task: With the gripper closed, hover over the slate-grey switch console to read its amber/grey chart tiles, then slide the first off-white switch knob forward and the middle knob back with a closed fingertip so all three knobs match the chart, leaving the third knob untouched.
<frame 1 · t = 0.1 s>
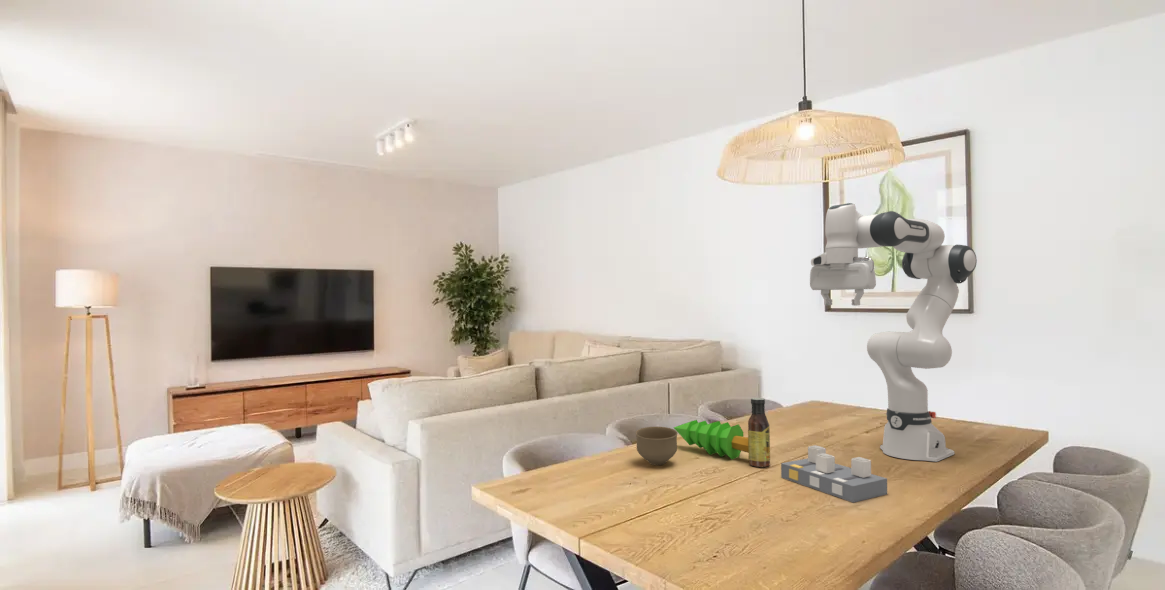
hand: (841, 305, 174), 48 cm above the table, fingers open, 8 cm apart
decorative tree: (713, 454, 191), on the table, touching sauce bottle
knob A: (816, 454, 165), point 6 cm above the table, slide at -2.5 cm
console: (831, 485, 158), on the table
sauce bottle: (759, 465, 177), on the table, touching decorative tree
knob B: (825, 462, 157), point 6 cm above the table, slide at 2.5 cm
bowl: (656, 464, 179), on the table
knob C: (861, 466, 153), point 6 cm above the table, slide at -2.5 cm
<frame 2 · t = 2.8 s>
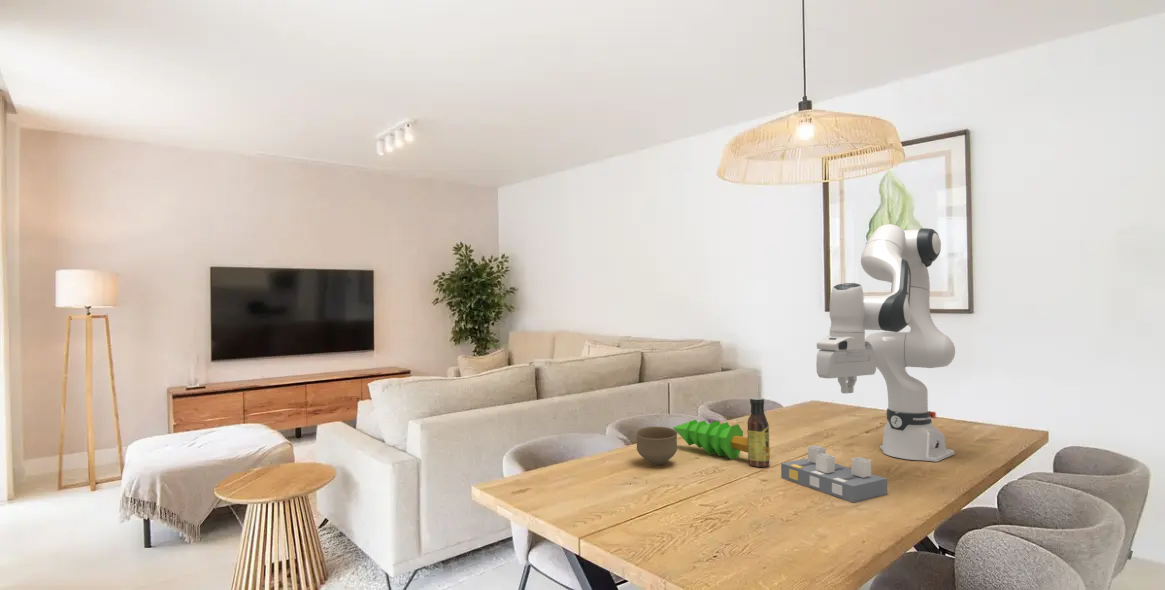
hand: (847, 392, 162), 24 cm above the table, fingers closed
nothing on the table moved.
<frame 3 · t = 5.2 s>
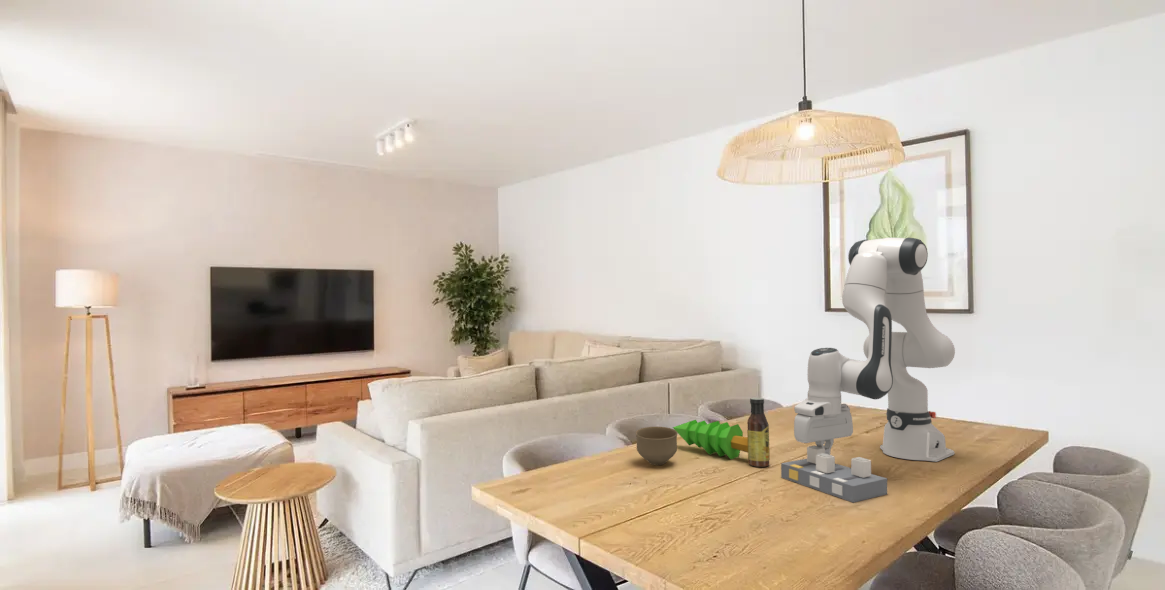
hand: (824, 455, 167), 6 cm above the table, fingers closed
knob A: (815, 454, 165), point 6 cm above the table, slide at -2.1 cm, touching gripper
everything else where it was.
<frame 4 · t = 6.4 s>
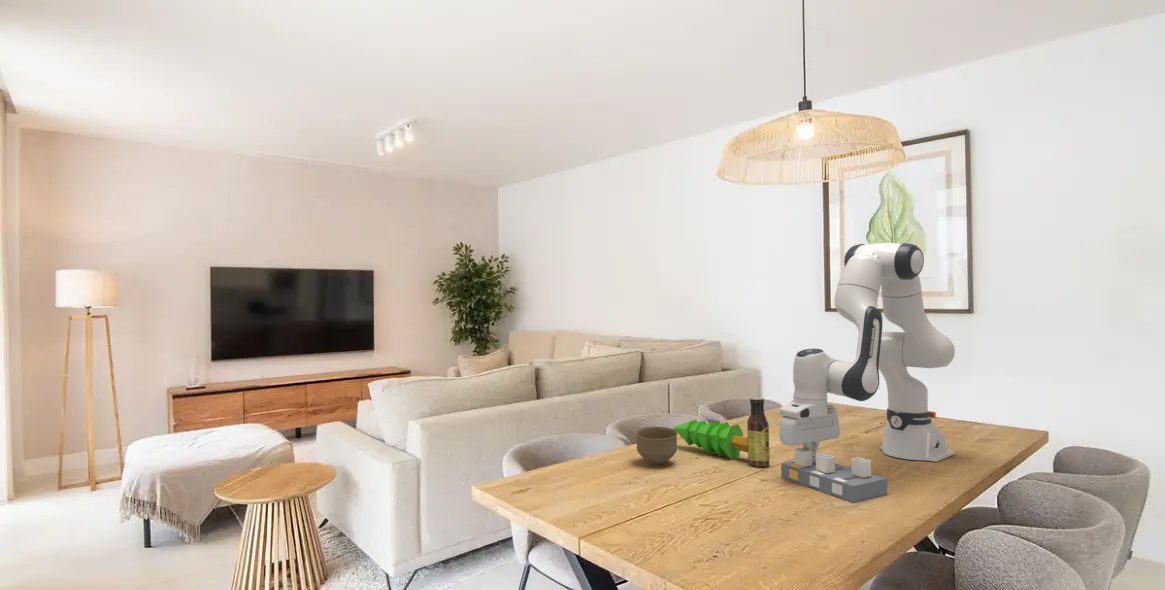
hand: (810, 457, 164), 6 cm above the table, fingers closed
knob A: (803, 456, 163), point 6 cm above the table, slide at 2.9 cm, touching gripper
everything else where it was.
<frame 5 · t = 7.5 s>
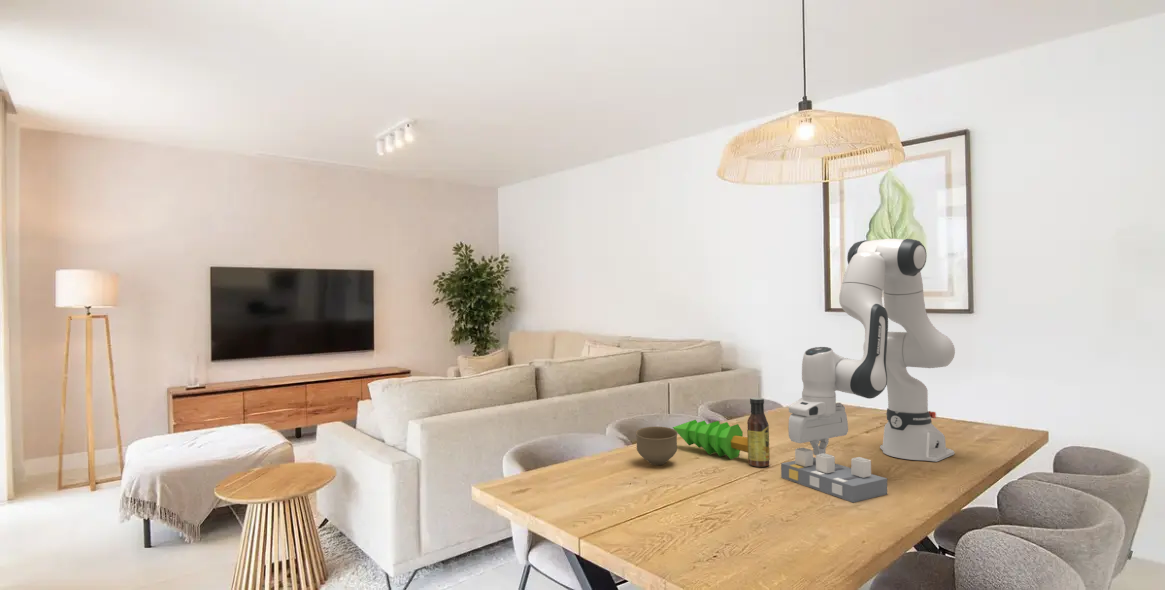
hand: (819, 454, 166), 6 cm above the table, fingers closed
knob A: (804, 456, 163), point 6 cm above the table, slide at 2.6 cm
everything else where it was.
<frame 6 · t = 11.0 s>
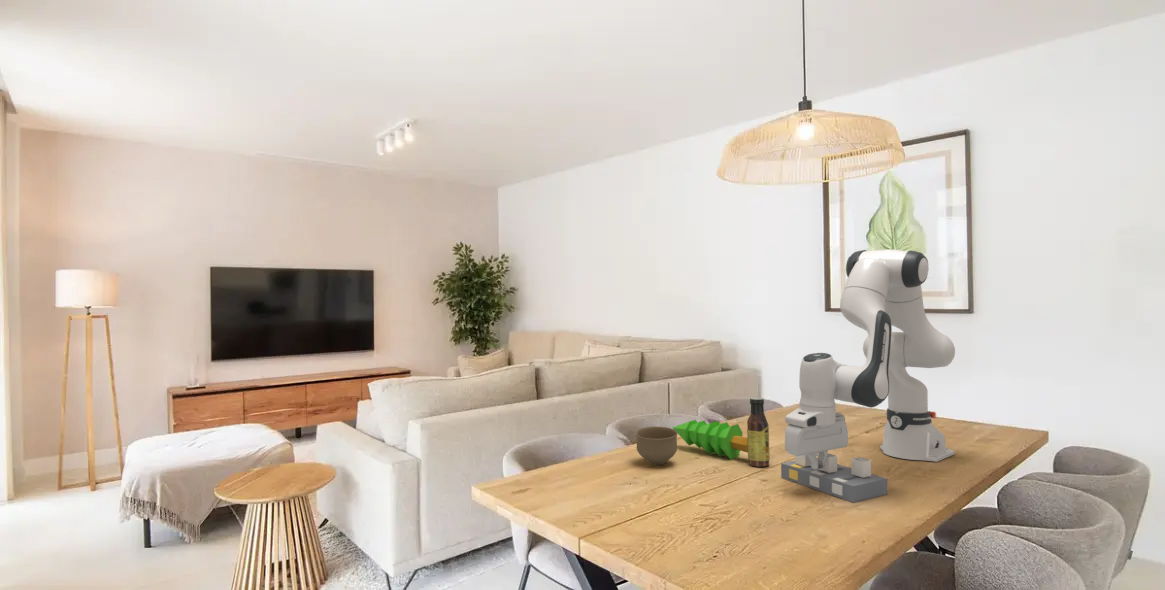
hand: (817, 468, 156), 5 cm above the table, fingers closed
knob B: (827, 462, 157), point 6 cm above the table, slide at 1.6 cm, touching gripper
everything else where it was.
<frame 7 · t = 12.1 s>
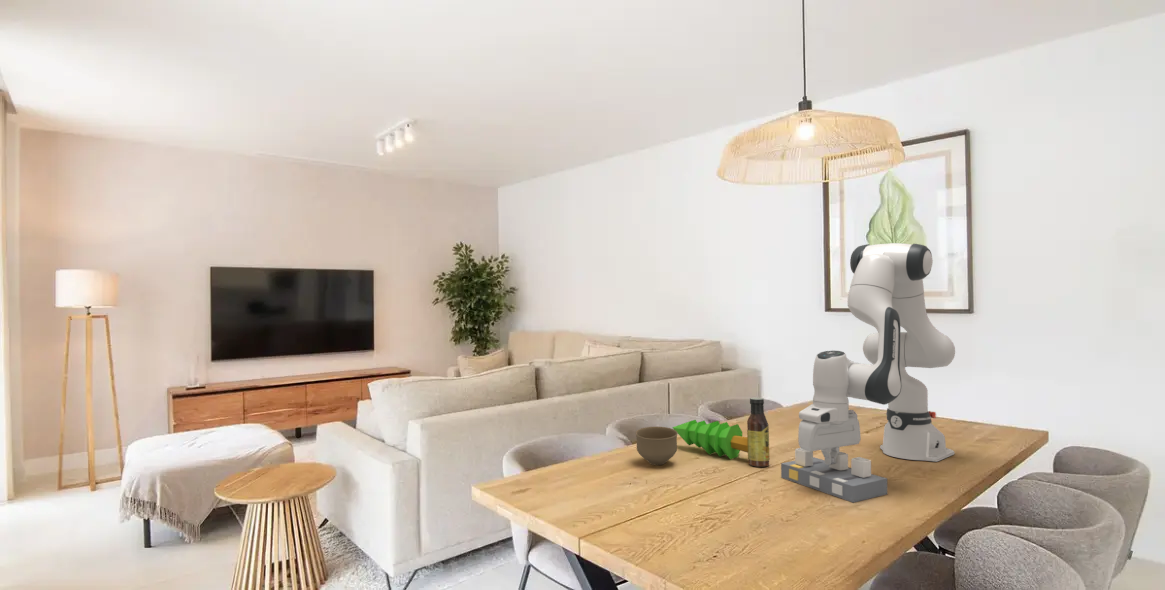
hand: (830, 464, 158), 6 cm above the table, fingers closed
knob B: (838, 460, 159), point 6 cm above the table, slide at -2.7 cm, touching gripper
everything else where it was.
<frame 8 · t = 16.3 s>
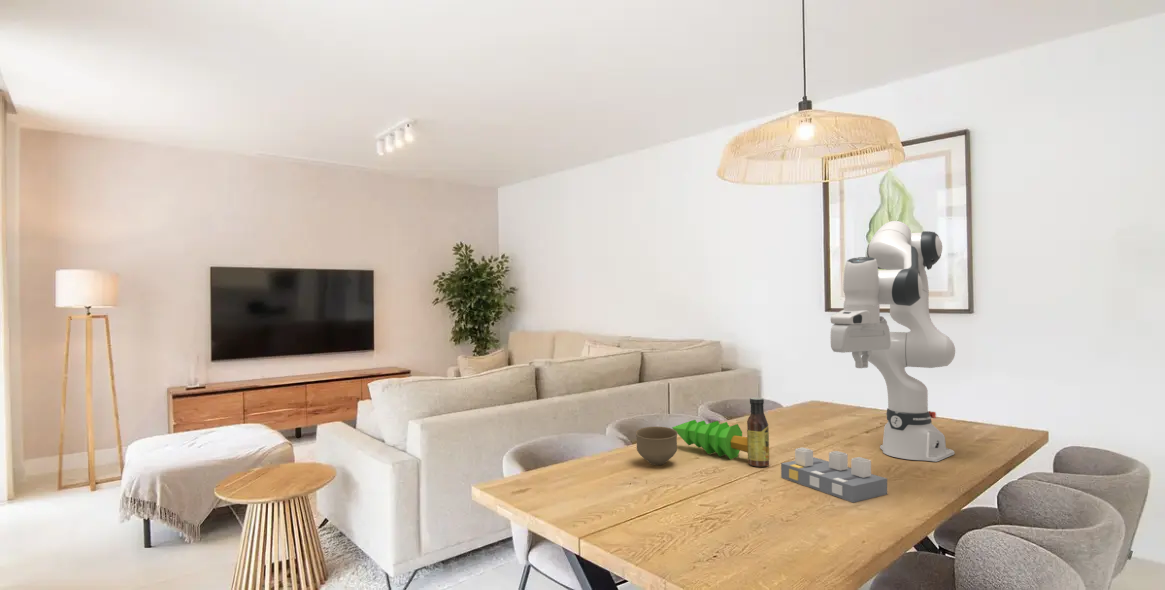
hand: (861, 367, 160), 31 cm above the table, fingers closed
knob B: (838, 460, 159), point 6 cm above the table, slide at -2.6 cm
everything else where it was.
at the end: knob A slide at 2.6 cm; knob B slide at -2.6 cm; knob C slide at -2.5 cm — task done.
